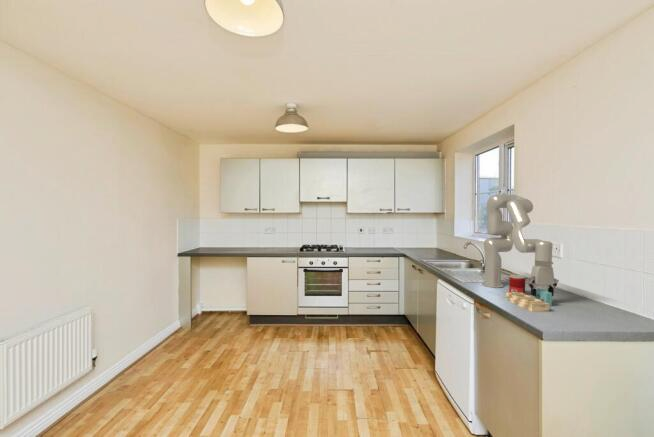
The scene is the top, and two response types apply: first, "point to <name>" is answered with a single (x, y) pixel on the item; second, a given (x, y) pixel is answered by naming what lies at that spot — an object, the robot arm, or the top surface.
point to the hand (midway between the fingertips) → (542, 295)
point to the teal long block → (544, 295)
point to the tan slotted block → (527, 302)
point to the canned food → (517, 284)
